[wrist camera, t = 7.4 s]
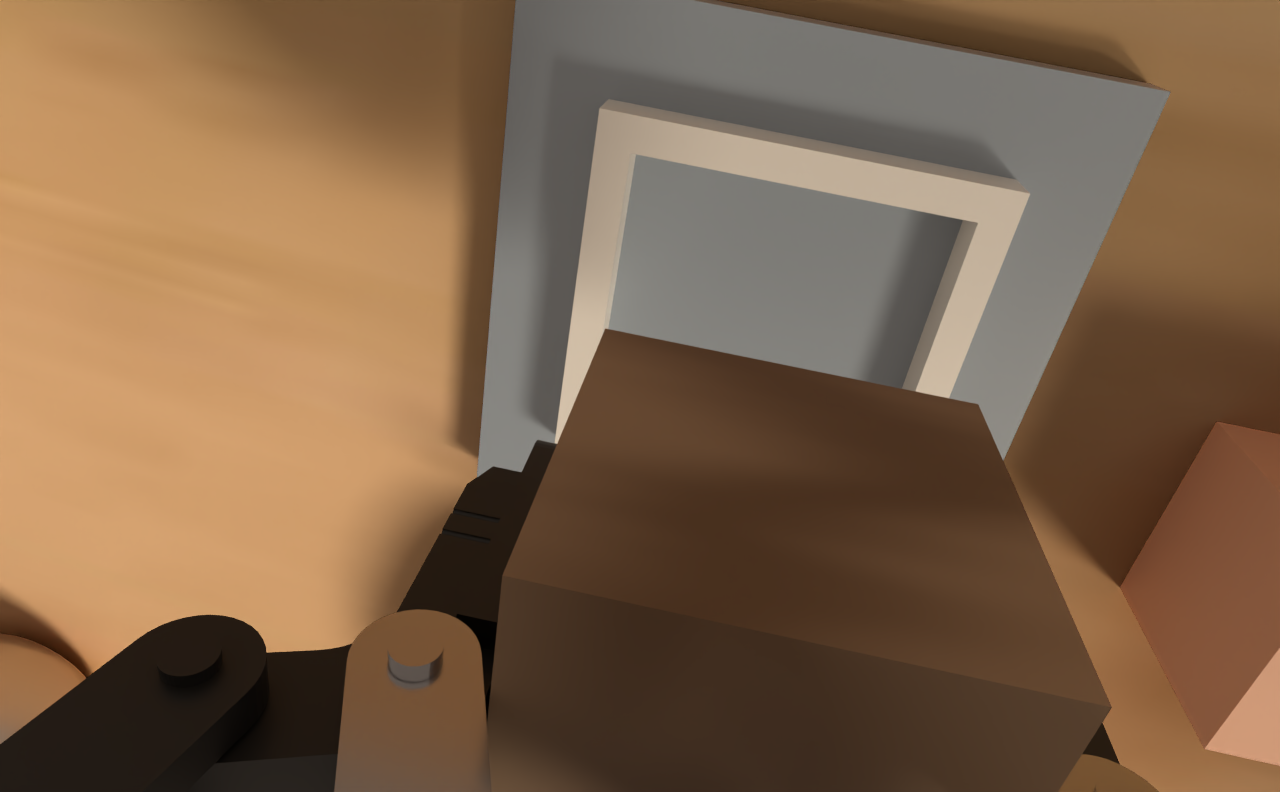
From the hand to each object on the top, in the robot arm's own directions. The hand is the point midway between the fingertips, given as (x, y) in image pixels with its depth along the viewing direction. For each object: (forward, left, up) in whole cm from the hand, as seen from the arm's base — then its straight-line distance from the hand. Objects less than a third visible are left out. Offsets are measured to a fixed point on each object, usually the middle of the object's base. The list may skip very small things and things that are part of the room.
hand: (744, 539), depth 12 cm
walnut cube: (0, 0, 0) cm, 0 cm away
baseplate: (0, 0, -8) cm, 8 cm away
